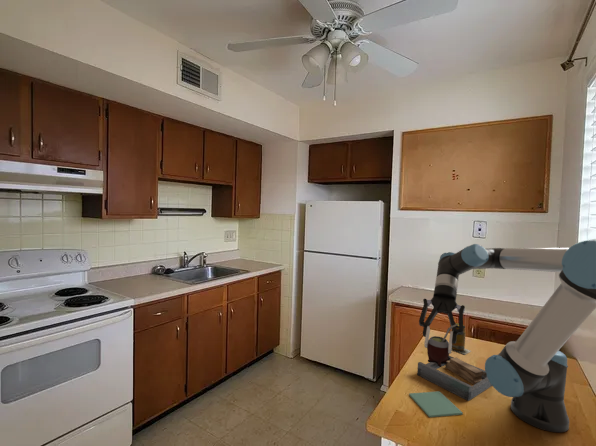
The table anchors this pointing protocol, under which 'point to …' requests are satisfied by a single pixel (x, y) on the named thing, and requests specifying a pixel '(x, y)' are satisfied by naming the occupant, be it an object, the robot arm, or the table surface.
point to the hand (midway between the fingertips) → (437, 348)
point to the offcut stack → (464, 370)
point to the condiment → (460, 342)
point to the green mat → (435, 404)
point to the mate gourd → (438, 349)
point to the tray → (452, 380)
